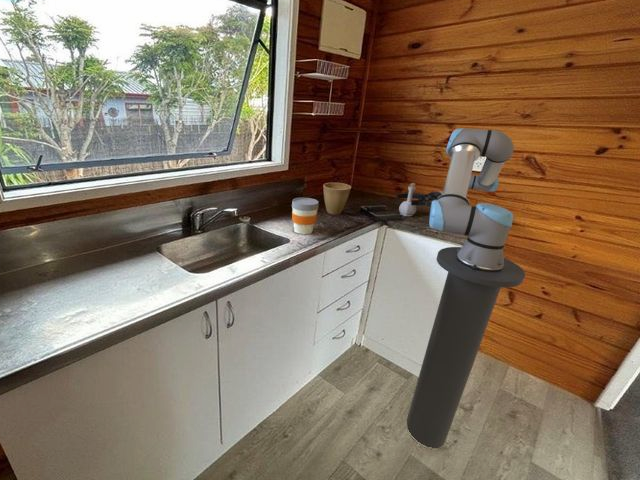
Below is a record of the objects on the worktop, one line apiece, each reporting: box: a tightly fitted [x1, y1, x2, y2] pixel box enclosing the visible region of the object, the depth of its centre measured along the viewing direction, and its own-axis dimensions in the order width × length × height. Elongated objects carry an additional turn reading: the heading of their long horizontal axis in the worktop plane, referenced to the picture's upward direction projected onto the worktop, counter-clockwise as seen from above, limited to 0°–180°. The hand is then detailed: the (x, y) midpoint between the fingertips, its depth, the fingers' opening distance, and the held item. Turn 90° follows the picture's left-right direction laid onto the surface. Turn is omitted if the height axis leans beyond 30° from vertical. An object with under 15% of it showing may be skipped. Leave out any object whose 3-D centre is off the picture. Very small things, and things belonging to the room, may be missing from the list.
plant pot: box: [322, 182, 352, 216], centre depth 170 cm, size 15×15×16 cm
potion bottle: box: [398, 182, 417, 217], centre depth 170 cm, size 9×9×18 cm
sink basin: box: [359, 205, 403, 222], centre depth 169 cm, size 16×16×5 cm
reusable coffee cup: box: [291, 197, 320, 235], centre depth 145 cm, size 12×13×15 cm
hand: (403, 199), depth 169 cm, fingers open, 12 cm apart
